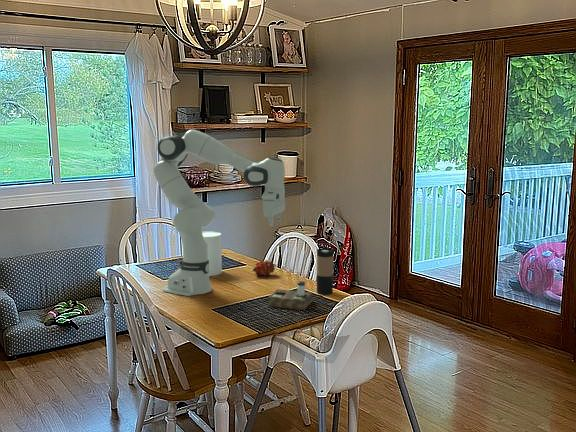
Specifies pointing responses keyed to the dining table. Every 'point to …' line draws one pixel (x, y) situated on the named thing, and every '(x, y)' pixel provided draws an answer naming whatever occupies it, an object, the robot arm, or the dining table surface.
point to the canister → (214, 252)
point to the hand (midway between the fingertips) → (274, 223)
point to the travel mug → (325, 271)
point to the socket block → (289, 299)
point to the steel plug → (301, 289)
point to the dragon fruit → (264, 268)
